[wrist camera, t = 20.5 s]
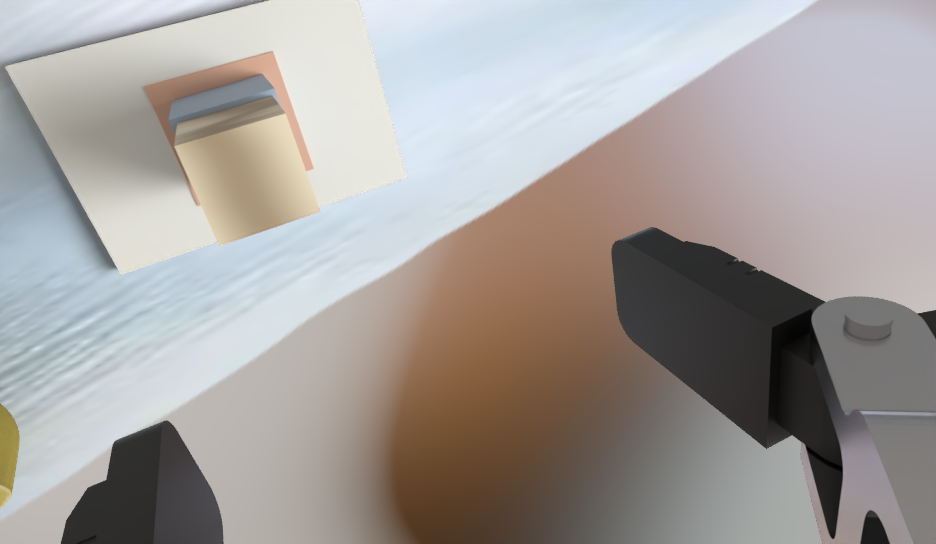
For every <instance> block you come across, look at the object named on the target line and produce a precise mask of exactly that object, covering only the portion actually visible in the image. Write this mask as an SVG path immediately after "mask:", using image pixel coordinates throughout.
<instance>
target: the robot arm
mask: <svg viewBox="0 0 936 544" xmlns="http://www.w3.org/2000/svg"><path fill="white" fill-rule="evenodd" d="M612 264H613V273H614V282H615V293H616V302H617V311H618V316H619V320H620V322H621V324H622V327H623V329H624V330H625V332H626V334H627V335H628V337H629V338H630V339H631V340H632V341H633V342H634V343H635V344H637V345H638V346H639V347H640V348H641V349H643V350H644V351H645V352H646V353H648V354H649V355H650V356H651V357H653V358H654V359H655V360H656V361H658V362H659V363H660V364H661V365H663V366H664V367H665V368H666V369H668V370H669V371H670V372H671V373H673V374H674V375H675V376H676V377H678V378H679V379H680V380H681V381H683V382H684V383H685V384H686V385H688V386H689V387H690V388H691V389H693V390H694V391H695V392H696V393H698V394H699V395H700V396H701V397H703V398H704V399H705V400H706V401H708V402H709V403H710V404H711V405H713V406H714V407H715V408H716V409H718V410H719V411H720V412H721V413H723V414H724V415H725V416H726V417H727V418H729V419H730V420H731V421H733V422H734V423H735V424H736V425H737V426H739V427H740V428H741V429H742V430H744V431H745V432H746V433H747V434H749V435H750V436H751V437H752V438H754V439H755V440H756V441H757V442H759V443H760V444H761V445H762V446H764V447H765V448H766V449H767V448H769V447H771V446H772V445H774V444H776V443H778V442H780V441H782V440H784V439H785V438H788V437H789V436H791V435H793V436H794V437H796V438H797V439H798V440H800V441H801V453H800V455H801V461H802V465H803V469H804V473H805V477H806V481H807V485H808V489H809V493H810V497H811V501H812V505H813V509H814V513H815V517H816V521H817V525H818V528H819V532H820V537H821V540H822V544H936V310H934V311H929V312H923V313H918V314H917V313H915V312H914V311H912V310H911V309H909V308H907V307H905V306H903V305H900V304H897V303H895V302H892V301H888V300H884V299H879V298H872V297H844V298H838V299H834V300H831V301H828V302H825V301H823V300H821V299H819V298H816V297H814V296H812V295H810V294H808V293H806V292H804V291H802V290H800V289H798V288H796V287H794V286H792V285H790V284H788V283H786V282H784V281H782V280H780V279H778V278H776V277H774V276H772V275H770V274H768V273H766V272H764V271H762V270H761V271H757V268H756V267H754V266H752V265H750V264H748V263H746V262H744V261H741V262H739V261H738V258H736V257H734V256H732V255H729V254H728V253H725V252H723V251H721V250H720V249H717V248H715V247H712V246H707V245H702V244H697V243H692V242H688V241H685V242H683V241H681V240H679V239H677V238H674V237H673V236H671V235H669V234H667V233H665V232H663V231H661V230H659V229H657V228H653V227H651V228H647V229H645V230H643V231H640V232H638V233H635V234H633V235H630V236H628V237H625V238H623V239H620V240H618V241H616V242H615V243H614V244H613V246H612ZM61 544H223V526H222V519H221V515H220V510H219V507H218V504H217V501H216V499H215V496H214V494H213V492H212V489H211V487H210V486H209V484H208V482H207V481H206V479H205V477H204V476H203V474H202V472H201V470H200V469H199V467H198V465H197V464H196V462H195V460H194V459H193V457H192V455H191V454H190V452H189V450H188V449H187V447H186V445H185V444H184V442H183V440H182V439H181V437H180V435H179V433H178V432H177V430H176V429H175V427H174V426H173V425H172V424H171V423H170V422H169V421H163V422H161V423H158V424H156V425H153V426H151V427H148V428H146V429H143V430H141V431H138V432H136V433H133V434H131V435H128V436H126V437H123V438H121V439H118V440H116V441H115V442H114V444H113V447H112V452H111V457H110V463H109V469H108V474H107V480H105V481H103V482H100V483H98V484H96V485H93V486H91V487H89V488H87V490H86V491H85V493H84V494H83V496H82V497H81V499H80V501H79V502H78V503H77V505H76V506H75V508H74V510H73V511H72V513H71V514H70V516H69V517H68V519H67V520H66V524H65V529H64V533H63V537H62V541H61Z"/></svg>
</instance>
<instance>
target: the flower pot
mask: <svg viewBox="0 0 936 544" xmlns="http://www.w3.org/2000/svg"><path fill="white" fill-rule="evenodd" d="M18 450H19V431H18V427H17V425H16V422H15V420H14V419H13V417H12V415H11V414H10V413H9V412H8V410H7V409H6V408H5V407H4V406H2V405H1V404H0V509H1V508H2V507H3V505H4V504H5V503H6V502H7V501H8V499H9V498H10V497H11V495H12V489H13V483H14V476H15V470H16V464H17V457H18Z"/></svg>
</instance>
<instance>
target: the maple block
mask: <svg viewBox="0 0 936 544" xmlns="http://www.w3.org/2000/svg"><path fill="white" fill-rule="evenodd" d="M174 147H175V149H176V151H177V154H178V156H179V158H180V160H181V162H182V165H183V167H184V169H185V171H186V173H187V176H188V178H189V180H190V182H191V184H192V187H193V189H194V191H195V193H196V195H197V198H198V200H199V202H200V204H201V206H202V209H203V211H204V213H205V215H206V217H207V220H208V222H209V224H210V226H211V228H212V231H213V233H214V235H215V237H216V239H217V242H218V244H219V246H221V245H224V244H227V243H230V242H233V241H236V240H239V239H242V238H244V237H247V236H250V235H253V234H256V233H259V232H262V231H265V230H268V229H271V228H274V227H277V226H280V225H283V224H286V223H289V222H291V221H294V220H297V219H300V218H303V217H306V216H309V215H312V214H315V213H318V212H320V209H319V206H318V203H317V201H316V198H315V195H314V192H313V189H312V186H311V184H310V181H309V178H308V175H307V172H306V169H305V167H304V164H303V161H302V158H301V155H300V152H299V150H298V147H297V144H296V141H295V138H294V135H293V133H292V130H291V127H290V124H289V121H288V118H287V116H286V113H285V112H284V110H283V109H282V108H281V106H280V105H279V104H278V102H277V101H276V100H275V98H274V97H273V96H270V97H266V98H263V99H259V100H256V101H252V102H249V103H245V104H242V105H238V106H235V107H231V108H228V109H224V110H221V111H217V112H214V113H210V114H207V115H203V116H200V117H196V118H193V119H189V120H186V121H182V122H179V123H177V128H176V135H175V143H174Z"/></svg>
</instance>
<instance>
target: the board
mask: <svg viewBox="0 0 936 544" xmlns="http://www.w3.org/2000/svg"><path fill="white" fill-rule="evenodd" d="M5 68H6V70H7V72H8V74H9V75H10V77H11V79H12V81H13V83H14V84H15V86H16V88H17V90H18V92H19V93H20V95H21V97H22V99H23V100H24V102H25V104H26V106H27V108H28V109H29V111H30V113H31V115H32V117H33V118H34V120H35V122H36V124H37V126H38V127H39V129H40V131H41V133H42V134H43V136H44V138H45V140H46V142H47V143H48V145H49V147H50V149H51V151H52V152H53V154H54V156H55V158H56V159H57V161H58V163H59V165H60V167H61V168H62V170H63V172H64V174H65V176H66V177H67V179H68V181H69V183H70V185H71V186H72V188H73V190H74V192H75V193H76V195H77V197H78V199H79V201H80V202H81V204H82V206H83V208H84V210H85V211H86V213H87V215H88V217H89V219H90V220H91V222H92V224H93V226H94V227H95V229H96V231H97V233H98V235H99V236H100V238H101V240H102V242H103V244H104V245H105V247H106V249H107V251H108V253H109V254H110V256H111V258H112V260H113V261H114V263H115V265H116V267H117V269H118V270H119V272H120V274H121V275H122V274H125V273H128V272H131V271H134V270H137V269H140V268H143V267H146V266H149V265H152V264H155V263H157V262H160V261H163V260H166V259H169V258H172V257H175V256H178V255H181V254H184V253H187V252H190V251H193V250H196V249H199V248H202V247H205V246H208V245H211V244H214V243H216V242H217V239H216V237H215V235H214V233H213V231H212V228H211V226H210V224H209V222H208V220H207V217H206V215H205V213H204V211H203V209H202V206H201V204H200V202H199V200H198V198H197V195H196V193H195V191H194V189H193V187H192V184H191V182H190V180H189V178H188V176H187V173H186V171H185V169H184V167H183V165H182V162H181V160H180V158H179V156H178V154H177V151H176V149H175V147H174V143H175V133H174V131H173V129H172V127H171V125H170V123H169V121H168V119H169V114H170V109H171V104H172V100H175V99H179V98H182V97H185V96H189V95H192V94H196V93H199V92H202V91H206V90H209V89H213V88H216V87H219V86H223V85H226V84H230V83H233V82H236V81H240V80H243V79H247V78H250V77H253V76H257V75H260V74H263V75H264V76H265V77H266V78H267V80H268V81H269V82H270V83H271V85H272V86H273V87H274V88H275V91H276V94H277V96H278V99H279V102H280V105H281V107H282V109H283V110H284V112H285V113H286V116H287V118H288V121H289V124H290V127H291V130H292V133H293V135H294V138H295V141H296V144H297V147H298V150H299V152H300V155H301V158H302V161H303V164H304V167H305V169H306V172H307V175H308V178H309V181H310V184H311V186H312V189H313V192H314V195H315V198H316V201H317V203H318V206H319V208H320V207H323V206H326V205H329V204H331V203H334V202H337V201H340V200H343V199H346V198H349V197H352V196H355V195H358V194H361V193H364V192H367V191H370V190H373V189H376V188H379V187H382V186H385V185H388V184H390V183H393V182H396V181H399V180H402V179H405V178H407V176H406V172H405V168H404V165H403V161H402V157H401V154H400V150H399V146H398V143H397V139H396V135H395V131H394V128H393V124H392V120H391V117H390V113H389V109H388V106H387V102H386V98H385V95H384V91H383V87H382V83H381V80H380V76H379V72H378V69H377V65H376V61H375V58H374V54H373V50H372V46H371V43H370V39H369V35H368V32H367V28H366V24H365V21H364V17H363V13H362V9H361V6H360V2H359V0H267V1H263V2H259V3H255V4H251V5H247V6H243V7H239V8H235V9H231V10H227V11H223V12H219V13H215V14H211V15H207V16H203V17H199V18H195V19H191V20H187V21H183V22H179V23H175V24H171V25H167V26H163V27H159V28H155V29H151V30H147V31H143V32H139V33H135V34H131V35H127V36H122V37H118V38H114V39H110V40H106V41H102V42H98V43H94V44H90V45H86V46H82V47H78V48H74V49H70V50H66V51H62V52H58V53H54V54H50V55H46V56H42V57H38V58H34V59H30V60H26V61H22V62H18V63H14V64H10V65H8V66H5Z"/></svg>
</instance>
